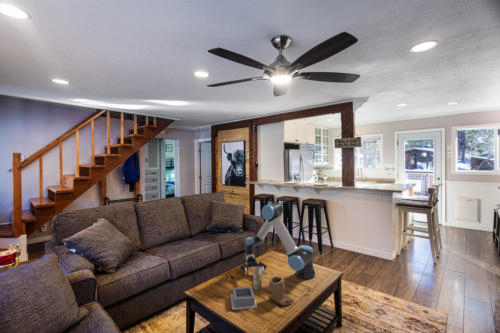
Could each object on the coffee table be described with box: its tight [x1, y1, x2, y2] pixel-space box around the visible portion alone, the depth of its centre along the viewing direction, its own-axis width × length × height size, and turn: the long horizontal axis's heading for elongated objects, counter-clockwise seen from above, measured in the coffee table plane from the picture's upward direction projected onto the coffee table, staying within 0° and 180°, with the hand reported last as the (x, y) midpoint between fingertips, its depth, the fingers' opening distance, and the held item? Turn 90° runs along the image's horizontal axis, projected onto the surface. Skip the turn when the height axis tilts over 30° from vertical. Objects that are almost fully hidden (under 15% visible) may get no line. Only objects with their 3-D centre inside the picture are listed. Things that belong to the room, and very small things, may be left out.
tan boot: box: [268, 275, 295, 306], centre depth 159 cm, size 15×12×15 cm
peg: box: [252, 266, 263, 291], centre depth 174 cm, size 6×6×15 cm
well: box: [230, 286, 258, 311], centre depth 159 cm, size 16×16×6 cm
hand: (255, 272), depth 180 cm, fingers open, 13 cm apart
